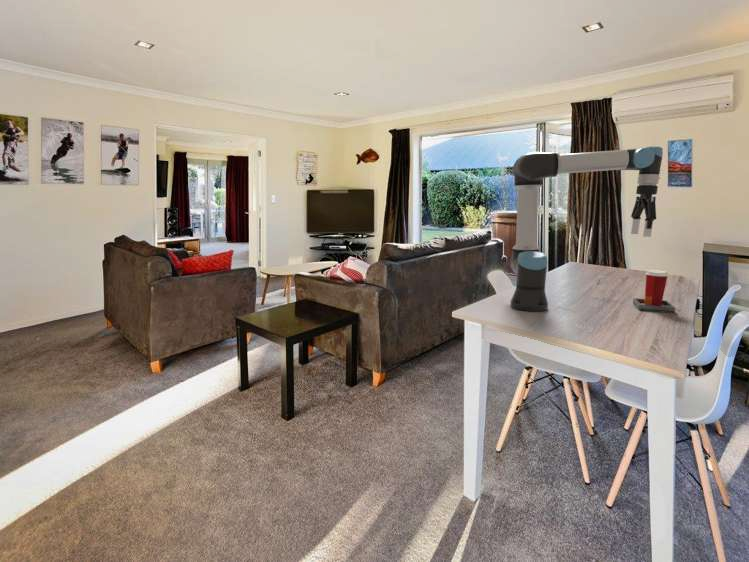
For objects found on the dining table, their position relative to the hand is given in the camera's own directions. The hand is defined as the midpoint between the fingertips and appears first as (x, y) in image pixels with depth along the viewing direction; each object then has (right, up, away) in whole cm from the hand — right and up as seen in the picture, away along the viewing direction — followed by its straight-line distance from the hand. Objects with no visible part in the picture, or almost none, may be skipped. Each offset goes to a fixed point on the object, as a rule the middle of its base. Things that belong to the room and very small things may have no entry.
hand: (640, 235), depth 191 cm
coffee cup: (+5, -31, -1) cm, 31 cm away
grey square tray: (+5, -31, -1) cm, 32 cm away
